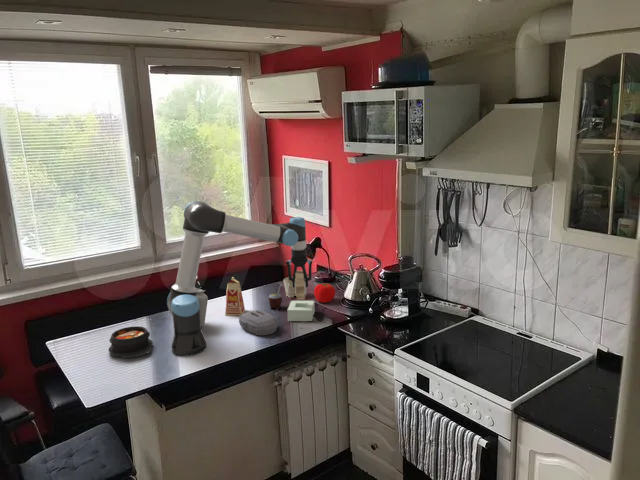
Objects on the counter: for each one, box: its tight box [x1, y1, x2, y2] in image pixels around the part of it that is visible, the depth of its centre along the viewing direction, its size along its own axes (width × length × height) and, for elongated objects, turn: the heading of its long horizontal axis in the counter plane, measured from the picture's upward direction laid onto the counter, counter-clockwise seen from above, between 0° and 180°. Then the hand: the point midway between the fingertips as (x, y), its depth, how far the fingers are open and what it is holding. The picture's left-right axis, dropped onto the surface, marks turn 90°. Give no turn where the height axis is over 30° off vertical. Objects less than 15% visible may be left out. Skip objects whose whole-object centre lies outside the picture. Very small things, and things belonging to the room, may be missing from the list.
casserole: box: [108, 325, 154, 359], centre depth 228 cm, size 25×19×8 cm
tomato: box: [313, 282, 336, 303], centre depth 283 cm, size 12×12×10 cm
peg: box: [295, 270, 306, 301], centre depth 259 cm, size 4×4×14 cm
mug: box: [283, 276, 296, 298], centre depth 292 cm, size 8×13×10 cm, turn 174°
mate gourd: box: [268, 281, 284, 310], centre depth 275 cm, size 8×8×15 cm
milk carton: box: [224, 276, 246, 317], centre depth 269 cm, size 9×9×20 cm
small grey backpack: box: [238, 310, 279, 336], centre depth 247 cm, size 15×8×20 cm
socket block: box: [286, 300, 316, 322], centre depth 262 cm, size 14×12×6 cm
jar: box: [195, 277, 209, 327], centre depth 252 cm, size 19×15×25 cm
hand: (300, 293), depth 260 cm, fingers closed on peg, 4 cm apart
